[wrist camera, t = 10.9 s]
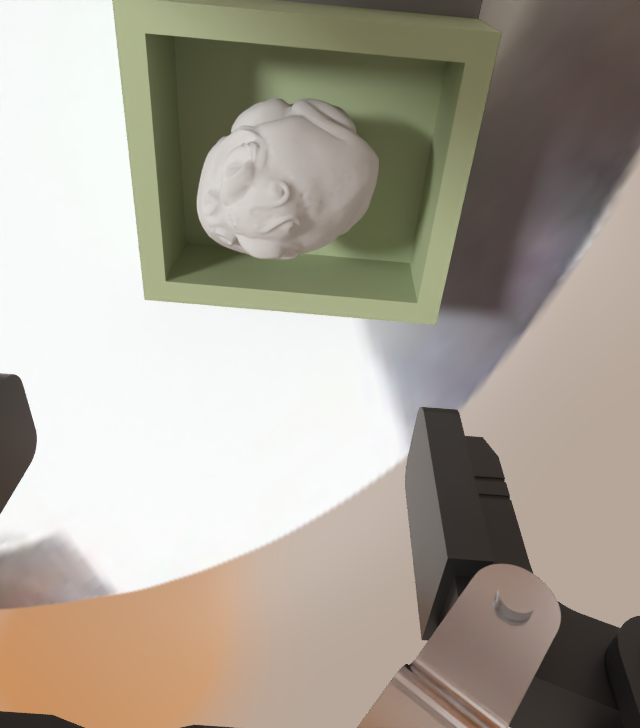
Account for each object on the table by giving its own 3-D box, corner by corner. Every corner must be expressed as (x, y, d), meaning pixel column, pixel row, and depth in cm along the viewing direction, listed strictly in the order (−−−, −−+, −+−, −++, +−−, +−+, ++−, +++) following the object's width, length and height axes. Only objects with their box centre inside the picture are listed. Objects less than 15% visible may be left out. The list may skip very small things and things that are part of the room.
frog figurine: (197, 108, 25) (154, 156, 20) (355, 54, 24) (358, 90, 18) (249, 236, 29) (225, 309, 23) (391, 196, 27) (402, 263, 22)
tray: (142, -108, 22) (99, -119, 18) (495, -74, 22) (525, -78, 18) (170, 254, 30) (144, 299, 26) (424, 277, 30) (435, 324, 27)
